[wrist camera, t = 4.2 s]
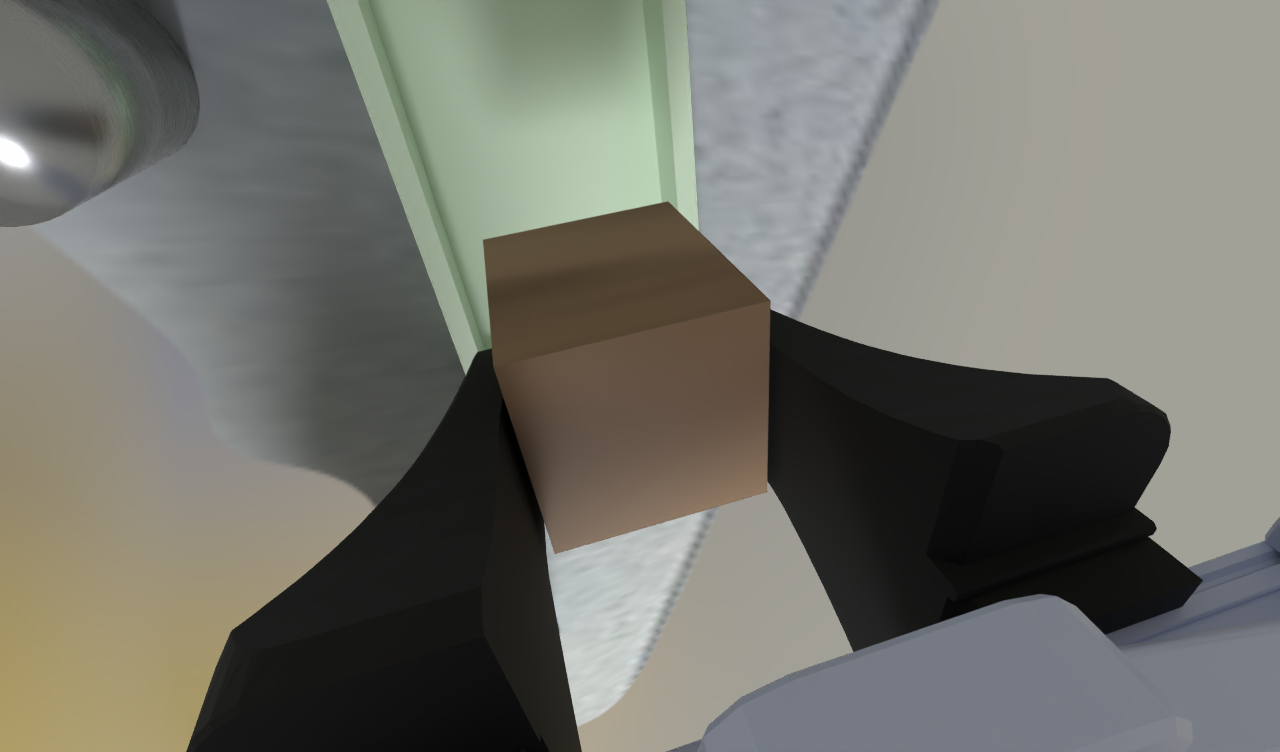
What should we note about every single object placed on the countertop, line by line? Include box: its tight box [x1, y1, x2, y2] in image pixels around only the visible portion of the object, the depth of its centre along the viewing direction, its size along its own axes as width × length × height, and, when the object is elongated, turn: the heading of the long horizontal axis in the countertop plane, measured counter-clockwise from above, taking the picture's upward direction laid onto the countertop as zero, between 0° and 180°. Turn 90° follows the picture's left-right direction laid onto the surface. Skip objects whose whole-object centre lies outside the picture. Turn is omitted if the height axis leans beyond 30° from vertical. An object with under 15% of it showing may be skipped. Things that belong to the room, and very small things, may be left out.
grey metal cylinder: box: [0, 0, 200, 227], centre depth 11 cm, size 4×4×5 cm
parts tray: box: [327, 0, 699, 375], centre depth 16 cm, size 16×8×2 cm, turn 7°
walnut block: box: [483, 201, 770, 554], centre depth 11 cm, size 4×4×5 cm
